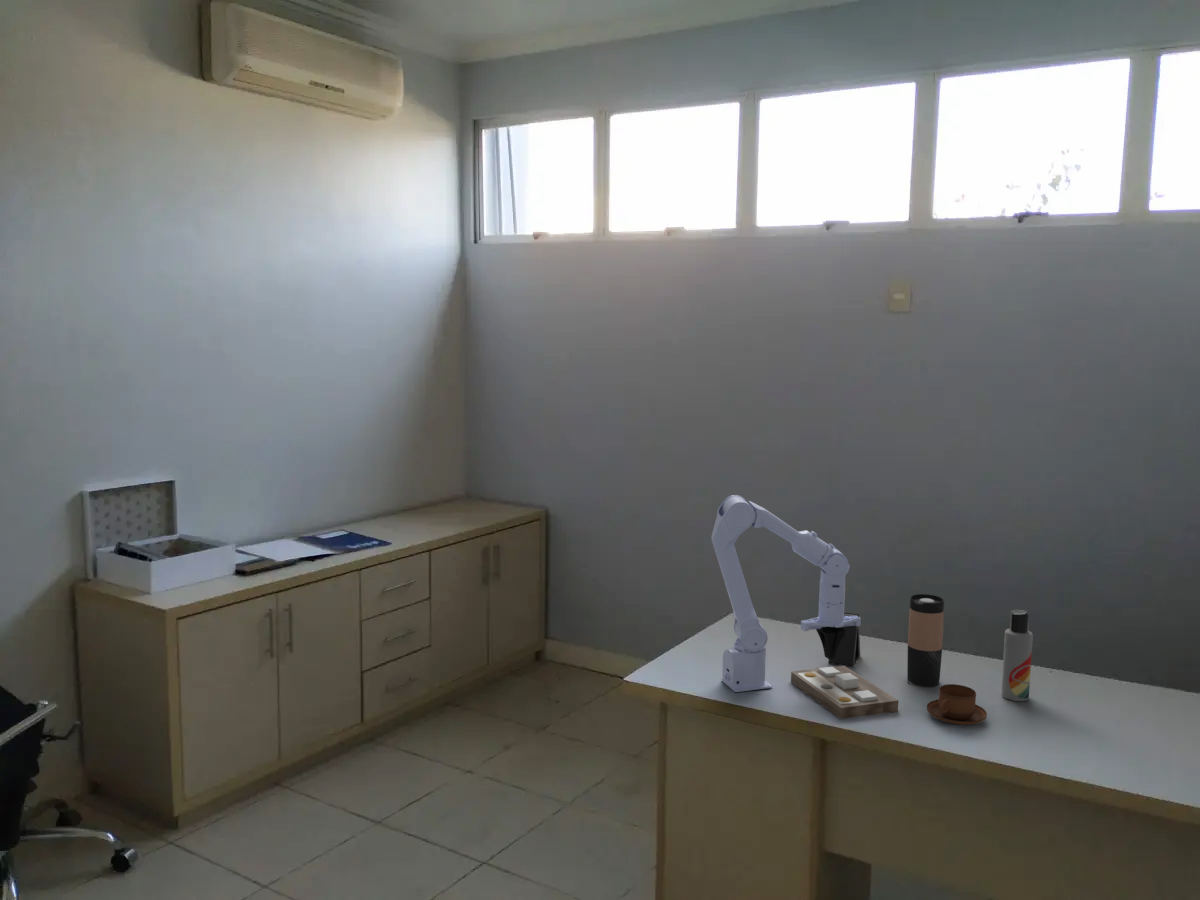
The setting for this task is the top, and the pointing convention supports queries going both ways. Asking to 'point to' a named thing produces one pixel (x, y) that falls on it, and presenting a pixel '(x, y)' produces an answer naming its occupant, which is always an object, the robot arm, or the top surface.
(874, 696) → the button front
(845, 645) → the phone stand
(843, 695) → the button board
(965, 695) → the cup and saucer
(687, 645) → the top surface
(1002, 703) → the top surface
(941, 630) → the travel mug
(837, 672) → the button back
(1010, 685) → the lotion bottle
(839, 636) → the robot arm
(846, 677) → the button middle
